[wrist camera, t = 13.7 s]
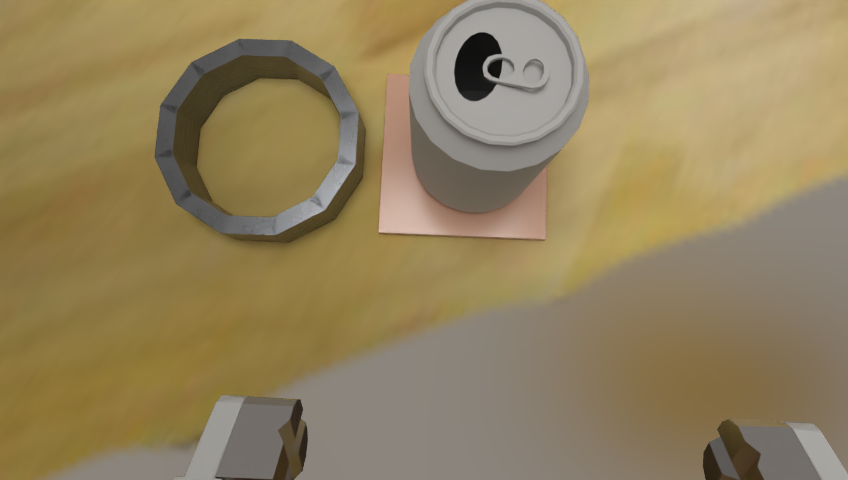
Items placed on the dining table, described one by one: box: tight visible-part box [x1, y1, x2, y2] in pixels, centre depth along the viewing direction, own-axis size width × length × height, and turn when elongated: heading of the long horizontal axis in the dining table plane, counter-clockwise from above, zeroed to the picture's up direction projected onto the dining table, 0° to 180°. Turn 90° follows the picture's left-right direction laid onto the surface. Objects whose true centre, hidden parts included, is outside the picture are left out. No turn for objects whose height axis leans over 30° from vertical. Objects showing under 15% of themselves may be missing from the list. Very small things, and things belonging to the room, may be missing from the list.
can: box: [409, 0, 589, 213], centre depth 26 cm, size 8×8×12 cm
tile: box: [379, 74, 547, 240], centre depth 32 cm, size 10×10×1 cm
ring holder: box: [155, 39, 366, 242], centre depth 31 cm, size 12×12×3 cm
